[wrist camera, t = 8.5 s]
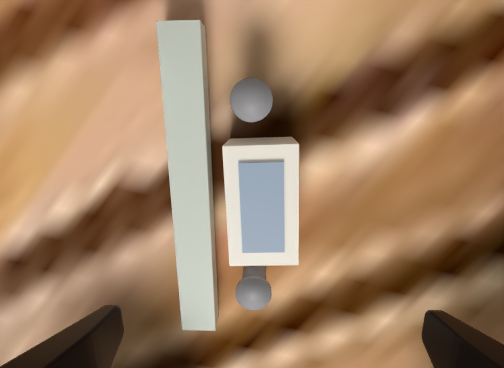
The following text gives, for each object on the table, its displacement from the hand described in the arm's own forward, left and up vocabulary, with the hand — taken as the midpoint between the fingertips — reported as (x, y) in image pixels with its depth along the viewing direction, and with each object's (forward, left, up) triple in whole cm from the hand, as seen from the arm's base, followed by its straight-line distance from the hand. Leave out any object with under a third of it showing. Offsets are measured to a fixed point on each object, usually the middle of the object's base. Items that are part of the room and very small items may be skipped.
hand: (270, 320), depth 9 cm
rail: (+3, -1, -12) cm, 12 cm away
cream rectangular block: (0, -1, -12) cm, 12 cm away
